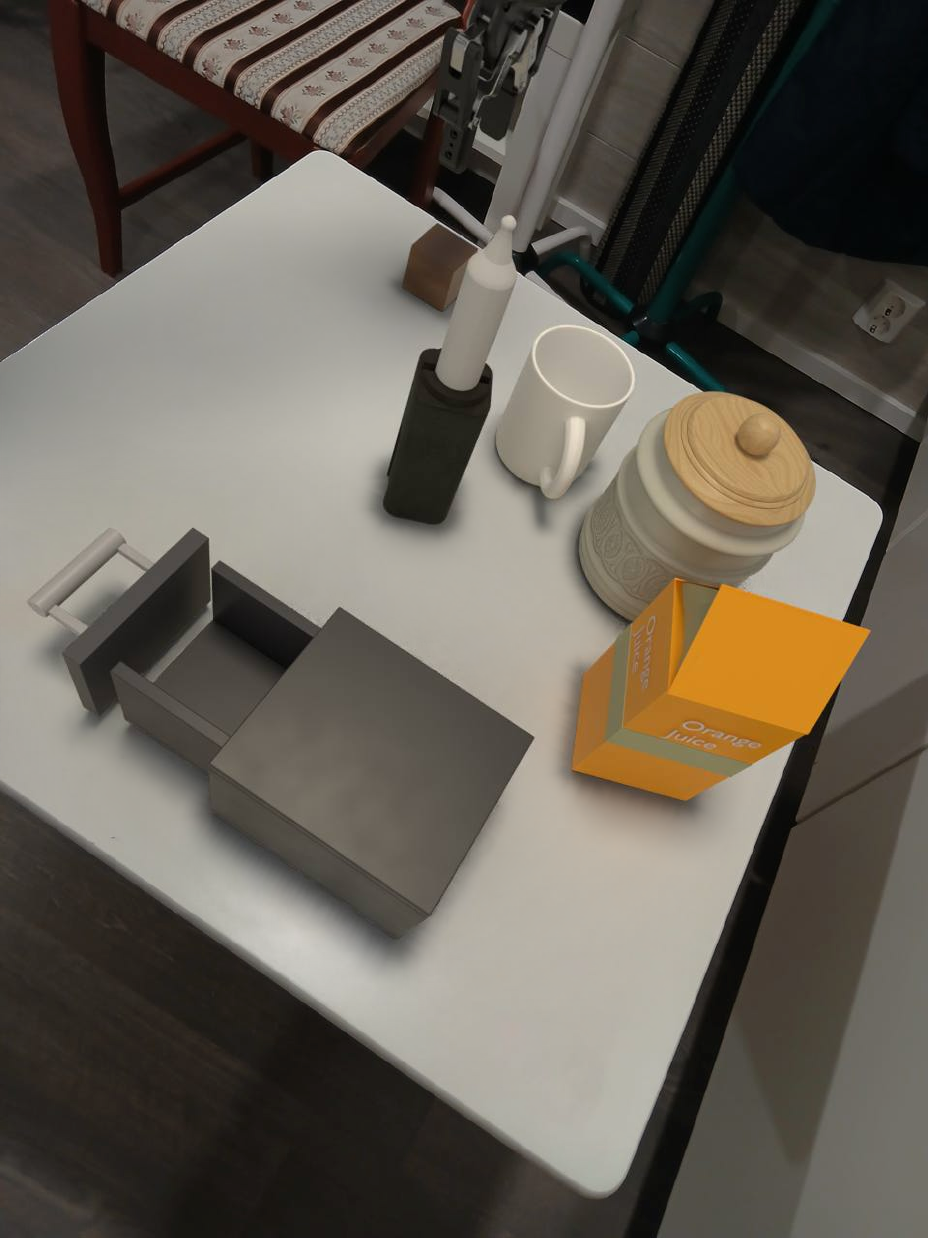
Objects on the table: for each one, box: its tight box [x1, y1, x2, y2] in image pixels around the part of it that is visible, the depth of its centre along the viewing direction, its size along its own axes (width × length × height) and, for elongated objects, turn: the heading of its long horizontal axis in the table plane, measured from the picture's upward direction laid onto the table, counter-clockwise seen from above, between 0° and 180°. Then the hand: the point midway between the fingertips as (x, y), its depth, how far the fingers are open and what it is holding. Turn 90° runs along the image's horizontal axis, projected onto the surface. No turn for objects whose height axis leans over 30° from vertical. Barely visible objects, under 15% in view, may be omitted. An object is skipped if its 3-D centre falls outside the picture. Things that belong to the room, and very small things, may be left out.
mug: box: [495, 324, 636, 500], centre depth 64 cm, size 12×8×10 cm
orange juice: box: [571, 578, 872, 802], centre depth 51 cm, size 8×9×20 cm
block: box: [401, 222, 479, 313], centre depth 74 cm, size 4×4×4 cm
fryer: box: [208, 606, 535, 940], centre depth 48 cm, size 14×12×10 cm
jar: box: [578, 390, 817, 623], centre depth 60 cm, size 13×13×18 cm
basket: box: [26, 527, 322, 778], centre depth 49 cm, size 17×10×8 cm, turn 59°
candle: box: [382, 214, 518, 525], centre depth 54 cm, size 5×5×25 cm
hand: (471, 149), depth 64 cm, fingers open, 6 cm apart
